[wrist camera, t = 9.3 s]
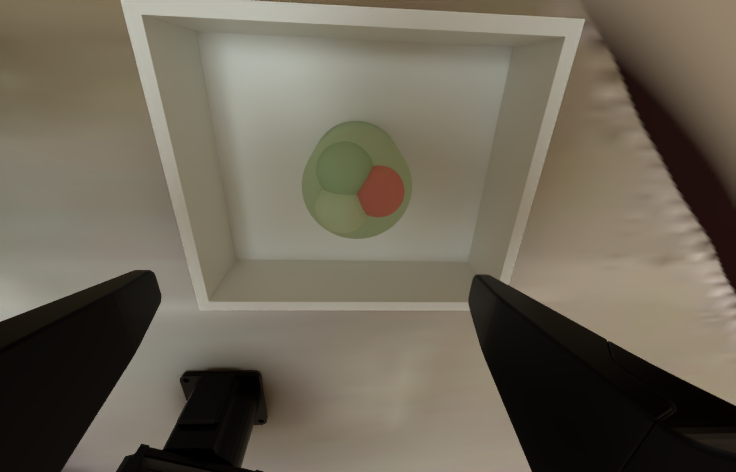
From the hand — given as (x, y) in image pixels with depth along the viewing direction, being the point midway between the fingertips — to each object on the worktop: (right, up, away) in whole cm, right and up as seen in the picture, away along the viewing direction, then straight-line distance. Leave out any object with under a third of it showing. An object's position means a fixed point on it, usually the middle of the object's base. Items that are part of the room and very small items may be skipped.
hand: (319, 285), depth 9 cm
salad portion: (+1, +6, +10) cm, 11 cm away
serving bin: (+1, +6, +10) cm, 12 cm away
